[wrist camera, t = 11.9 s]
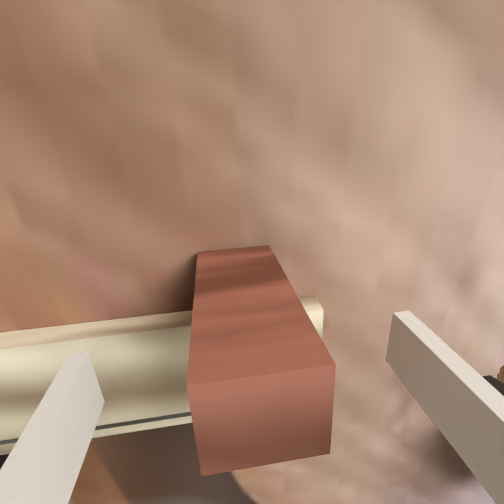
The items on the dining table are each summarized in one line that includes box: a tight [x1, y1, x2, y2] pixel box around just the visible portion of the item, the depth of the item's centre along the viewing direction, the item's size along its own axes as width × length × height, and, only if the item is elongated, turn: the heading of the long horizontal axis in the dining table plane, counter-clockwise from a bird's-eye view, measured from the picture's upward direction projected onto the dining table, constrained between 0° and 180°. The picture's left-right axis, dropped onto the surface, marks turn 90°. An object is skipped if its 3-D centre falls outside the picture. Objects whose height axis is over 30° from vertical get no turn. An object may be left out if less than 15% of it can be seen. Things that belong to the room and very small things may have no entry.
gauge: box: [186, 245, 336, 476], centre depth 18 cm, size 14×5×12 cm, turn 3°
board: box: [0, 296, 323, 452], centre depth 23 cm, size 9×30×2 cm, turn 93°
